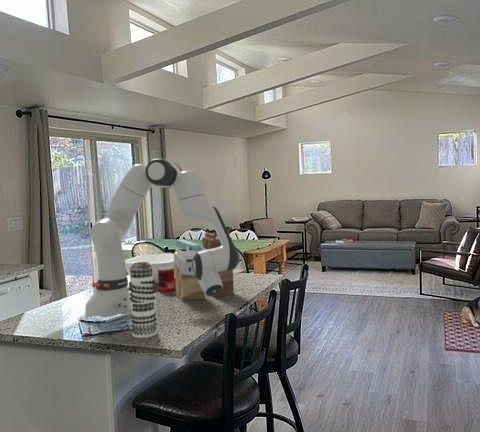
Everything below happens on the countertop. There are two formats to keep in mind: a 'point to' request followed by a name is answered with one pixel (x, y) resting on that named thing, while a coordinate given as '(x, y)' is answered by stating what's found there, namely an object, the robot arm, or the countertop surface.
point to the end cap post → (225, 276)
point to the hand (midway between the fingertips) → (193, 246)
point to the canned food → (166, 279)
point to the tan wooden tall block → (187, 285)
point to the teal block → (187, 244)
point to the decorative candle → (142, 300)
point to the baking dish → (153, 262)
